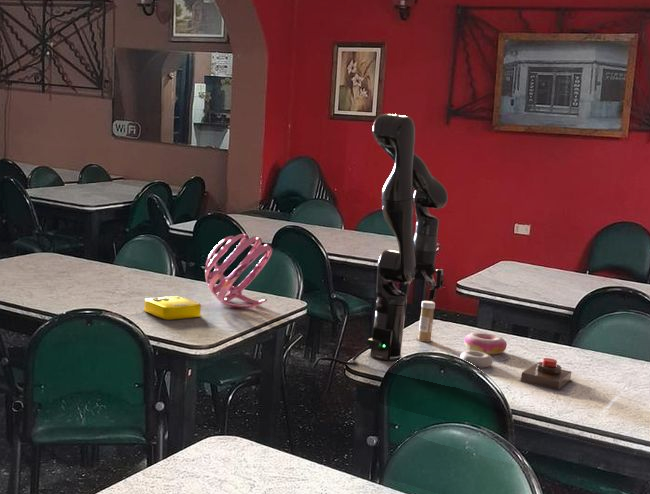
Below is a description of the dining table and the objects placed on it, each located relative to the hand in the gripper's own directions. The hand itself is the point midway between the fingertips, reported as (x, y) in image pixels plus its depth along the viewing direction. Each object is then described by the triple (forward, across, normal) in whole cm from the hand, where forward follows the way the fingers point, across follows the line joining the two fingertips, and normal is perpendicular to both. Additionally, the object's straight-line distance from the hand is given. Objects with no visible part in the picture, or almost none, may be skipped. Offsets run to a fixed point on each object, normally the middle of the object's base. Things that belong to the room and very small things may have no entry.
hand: (418, 298), depth 273 cm
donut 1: (+18, +17, +20) cm, 32 cm away
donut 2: (+18, +21, +1) cm, 27 cm away
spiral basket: (+18, -76, +8) cm, 79 cm away
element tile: (+18, -80, -24) cm, 86 cm away
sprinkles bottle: (+18, -3, +16) cm, 24 cm away
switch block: (+17, +43, +1) cm, 46 cm away
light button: (+13, +43, +3) cm, 45 cm away
